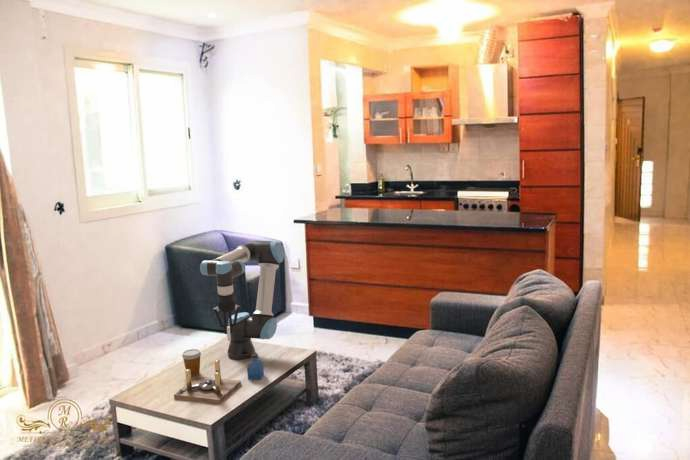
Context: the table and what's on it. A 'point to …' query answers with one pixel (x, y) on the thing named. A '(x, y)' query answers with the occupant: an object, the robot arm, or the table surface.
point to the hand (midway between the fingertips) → (229, 339)
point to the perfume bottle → (255, 368)
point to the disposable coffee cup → (192, 361)
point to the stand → (208, 396)
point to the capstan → (206, 381)
